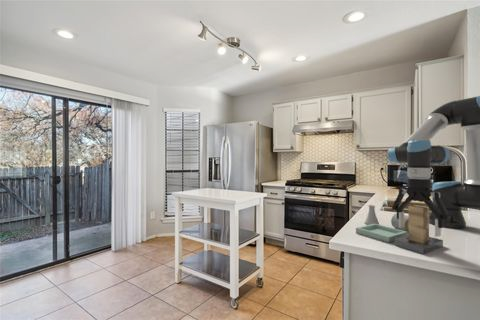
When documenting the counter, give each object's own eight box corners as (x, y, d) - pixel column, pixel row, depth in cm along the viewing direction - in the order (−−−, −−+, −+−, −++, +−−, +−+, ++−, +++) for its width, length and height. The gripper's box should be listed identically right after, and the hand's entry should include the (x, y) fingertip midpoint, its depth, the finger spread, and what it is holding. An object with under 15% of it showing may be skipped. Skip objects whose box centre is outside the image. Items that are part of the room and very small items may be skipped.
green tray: (374, 228, 117) (374, 223, 117) (407, 237, 104) (407, 231, 104) (355, 233, 110) (355, 227, 110) (388, 243, 97) (388, 237, 97)
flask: (377, 222, 128) (377, 204, 128) (381, 226, 121) (381, 207, 121) (362, 221, 130) (362, 204, 130) (366, 225, 123) (366, 206, 123)
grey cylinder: (405, 233, 109) (406, 217, 109) (390, 228, 117) (390, 213, 117) (422, 232, 112) (423, 216, 112) (406, 227, 120) (407, 212, 120)
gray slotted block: (414, 238, 102) (414, 232, 102) (442, 246, 93) (442, 239, 93) (394, 245, 94) (394, 238, 94) (423, 254, 86) (423, 247, 86)
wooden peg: (414, 242, 97) (414, 204, 97) (428, 246, 93) (429, 207, 93) (408, 244, 95) (408, 206, 95) (422, 249, 90) (422, 208, 90)
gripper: (382, 176, 103) (382, 225, 103) (453, 181, 81) (453, 242, 81) (392, 175, 106) (392, 222, 106) (462, 180, 85) (461, 238, 85)
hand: (418, 231), depth 94 cm, fingers open, 12 cm apart
